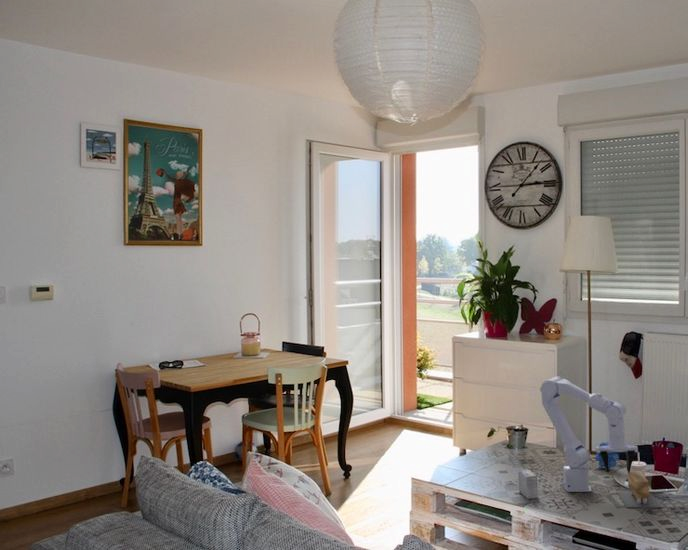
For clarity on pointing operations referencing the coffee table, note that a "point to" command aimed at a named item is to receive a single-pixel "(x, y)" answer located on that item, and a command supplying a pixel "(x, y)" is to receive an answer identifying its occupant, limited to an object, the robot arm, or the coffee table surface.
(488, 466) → the coffee table surface
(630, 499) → the peg base
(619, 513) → the coffee table surface
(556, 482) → the coffee table surface
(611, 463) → the grapes
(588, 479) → the robot arm
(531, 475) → the medicine box
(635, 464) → the smoothie
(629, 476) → the oak block
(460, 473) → the coffee table surface
